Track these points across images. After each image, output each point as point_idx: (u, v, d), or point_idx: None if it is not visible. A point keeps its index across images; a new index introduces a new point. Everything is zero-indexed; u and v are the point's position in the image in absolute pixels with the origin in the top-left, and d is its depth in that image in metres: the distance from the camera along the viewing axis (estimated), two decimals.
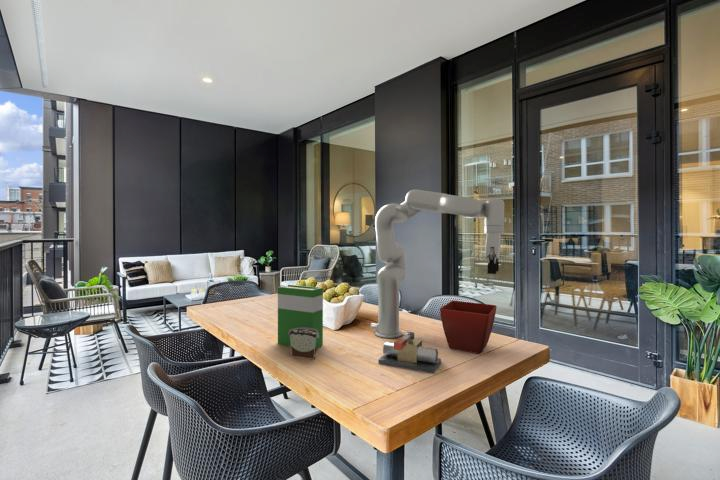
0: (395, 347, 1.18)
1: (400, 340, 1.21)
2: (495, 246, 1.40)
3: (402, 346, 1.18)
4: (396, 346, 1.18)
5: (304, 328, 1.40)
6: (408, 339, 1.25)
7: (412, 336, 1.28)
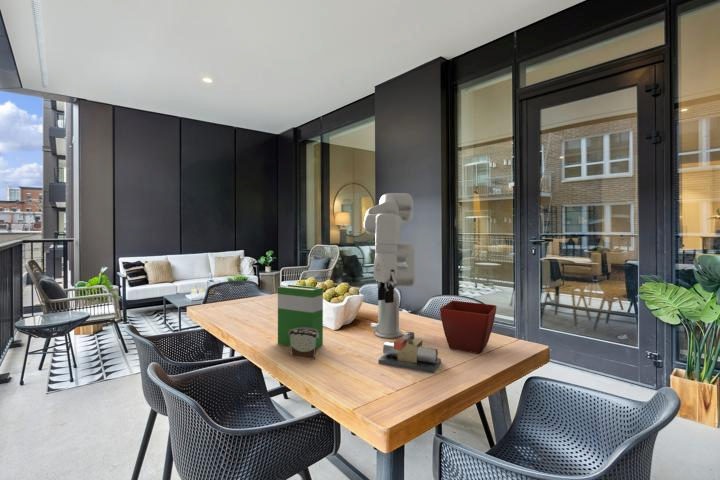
0: (395, 347, 1.18)
1: (400, 340, 1.21)
2: (395, 269, 1.21)
3: (402, 346, 1.18)
4: (396, 346, 1.18)
5: (304, 328, 1.40)
6: (408, 339, 1.25)
7: (412, 336, 1.28)
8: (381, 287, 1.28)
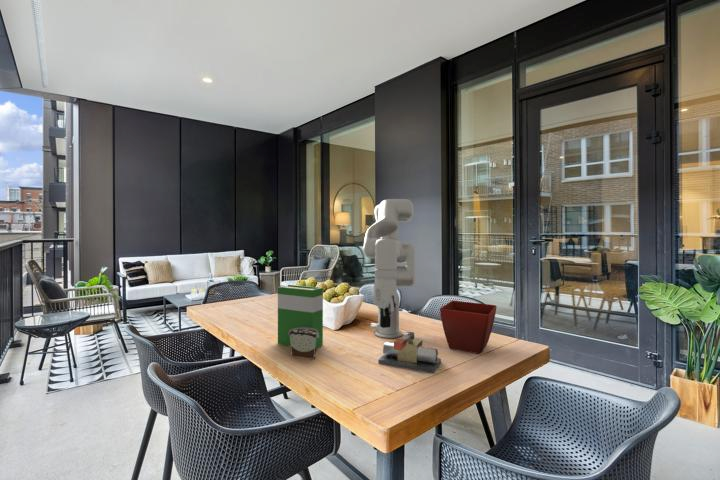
0: (395, 347, 1.18)
1: (400, 340, 1.21)
2: (395, 294, 1.21)
3: (402, 346, 1.18)
4: (396, 346, 1.18)
5: (304, 328, 1.40)
6: (408, 339, 1.25)
7: (412, 336, 1.28)
8: None
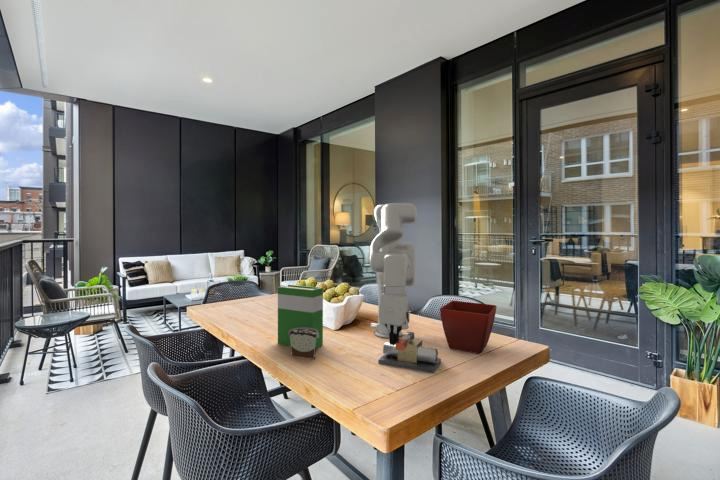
0: (397, 347, 1.18)
1: (401, 340, 1.21)
2: (408, 310, 1.20)
3: (404, 346, 1.18)
4: (398, 347, 1.17)
5: (304, 328, 1.40)
6: (409, 339, 1.25)
7: (412, 336, 1.28)
8: (392, 330, 1.22)
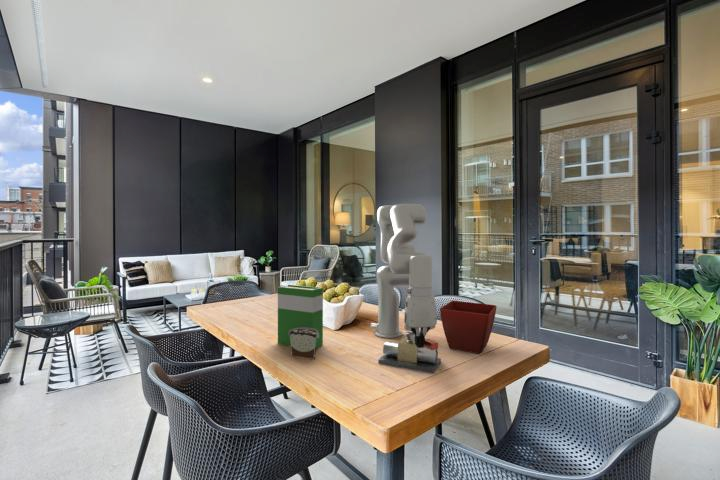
0: (433, 348, 1.18)
1: (427, 340, 1.21)
2: None
3: None
4: (434, 346, 1.18)
5: (304, 328, 1.40)
6: None
7: None
8: None
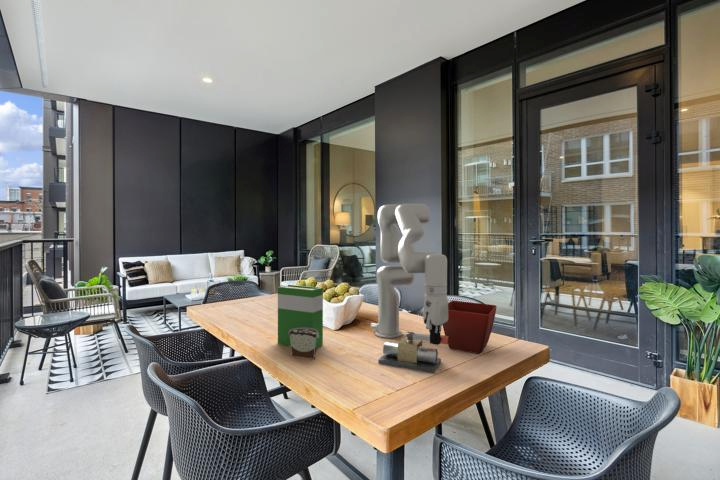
0: (447, 342, 1.24)
1: None
2: None
3: None
4: (448, 340, 1.25)
5: (304, 328, 1.40)
6: None
7: None
8: None
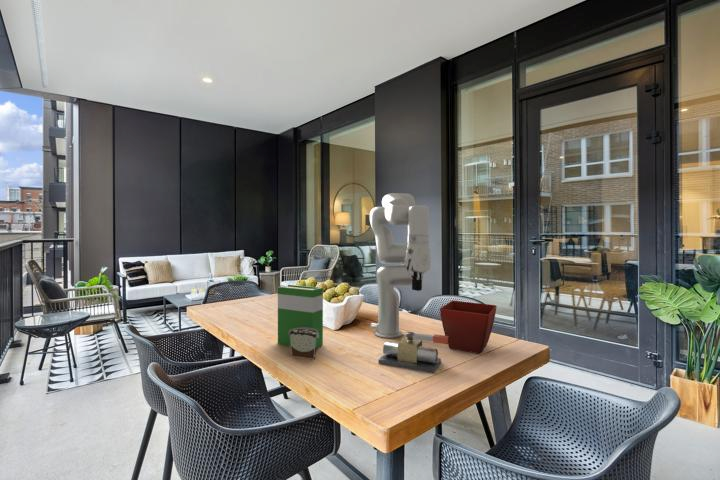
0: (447, 342, 1.24)
1: (438, 336, 1.26)
2: None
3: None
4: (448, 340, 1.25)
5: (304, 328, 1.40)
6: None
7: None
8: None
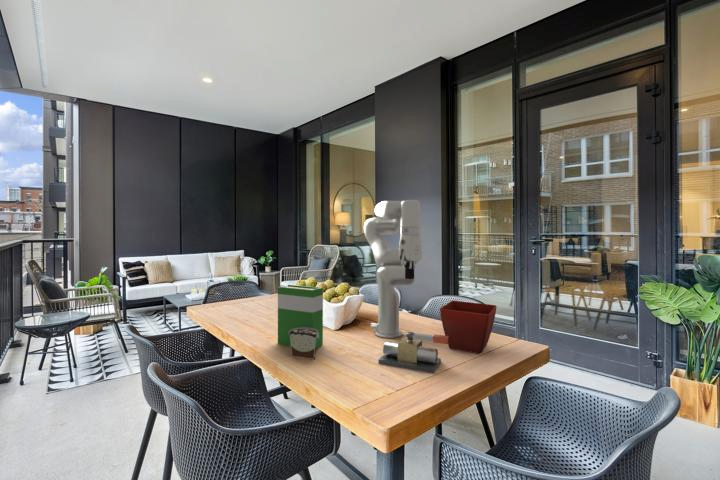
0: (447, 342, 1.24)
1: (438, 336, 1.26)
2: None
3: None
4: (448, 340, 1.25)
5: (304, 328, 1.40)
6: None
7: None
8: None
